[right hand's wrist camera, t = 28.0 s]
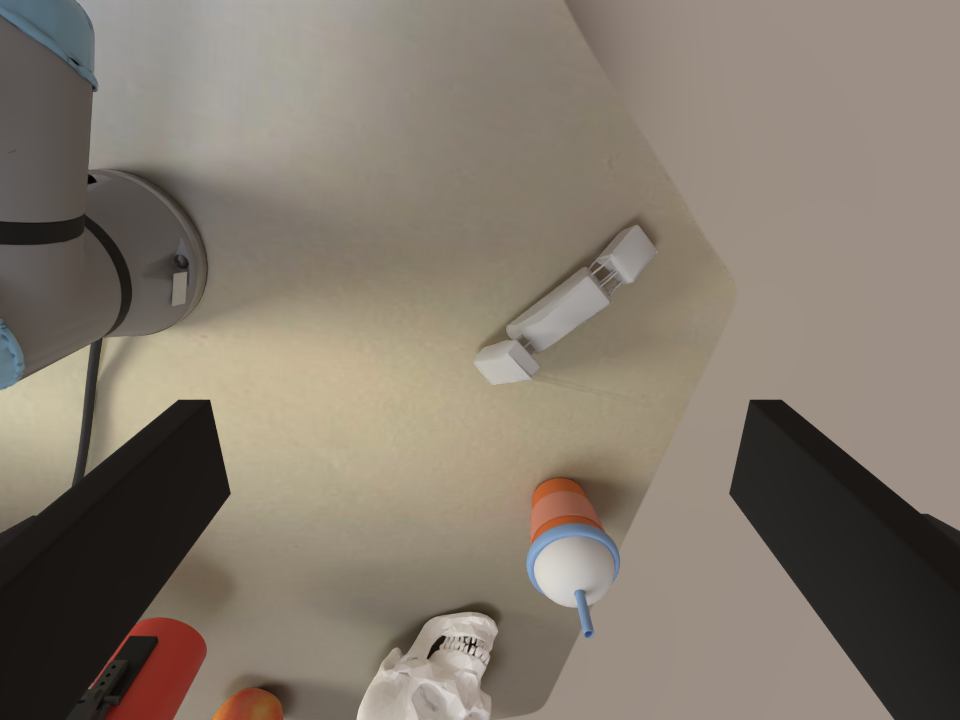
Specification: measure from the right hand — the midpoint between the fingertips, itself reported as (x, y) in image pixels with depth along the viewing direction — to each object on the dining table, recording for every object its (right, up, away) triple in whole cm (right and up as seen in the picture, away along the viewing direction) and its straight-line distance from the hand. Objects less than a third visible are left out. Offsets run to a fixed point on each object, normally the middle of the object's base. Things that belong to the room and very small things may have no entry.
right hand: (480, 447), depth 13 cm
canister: (-34, -29, +43) cm, 62 cm away
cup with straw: (+9, -14, +47) cm, 50 cm away
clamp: (+8, +8, +38) cm, 40 cm away
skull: (-6, -37, +56) cm, 68 cm away
